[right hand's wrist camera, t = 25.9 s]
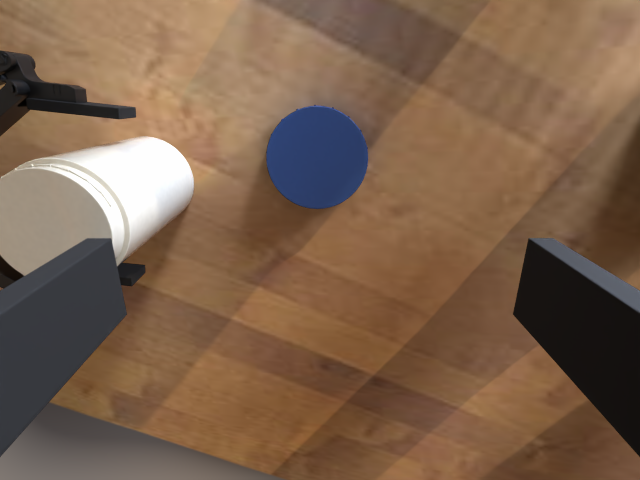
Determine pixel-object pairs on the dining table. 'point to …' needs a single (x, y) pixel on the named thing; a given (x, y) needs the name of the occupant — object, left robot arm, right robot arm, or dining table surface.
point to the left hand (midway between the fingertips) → (134, 200)
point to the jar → (91, 200)
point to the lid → (317, 157)
